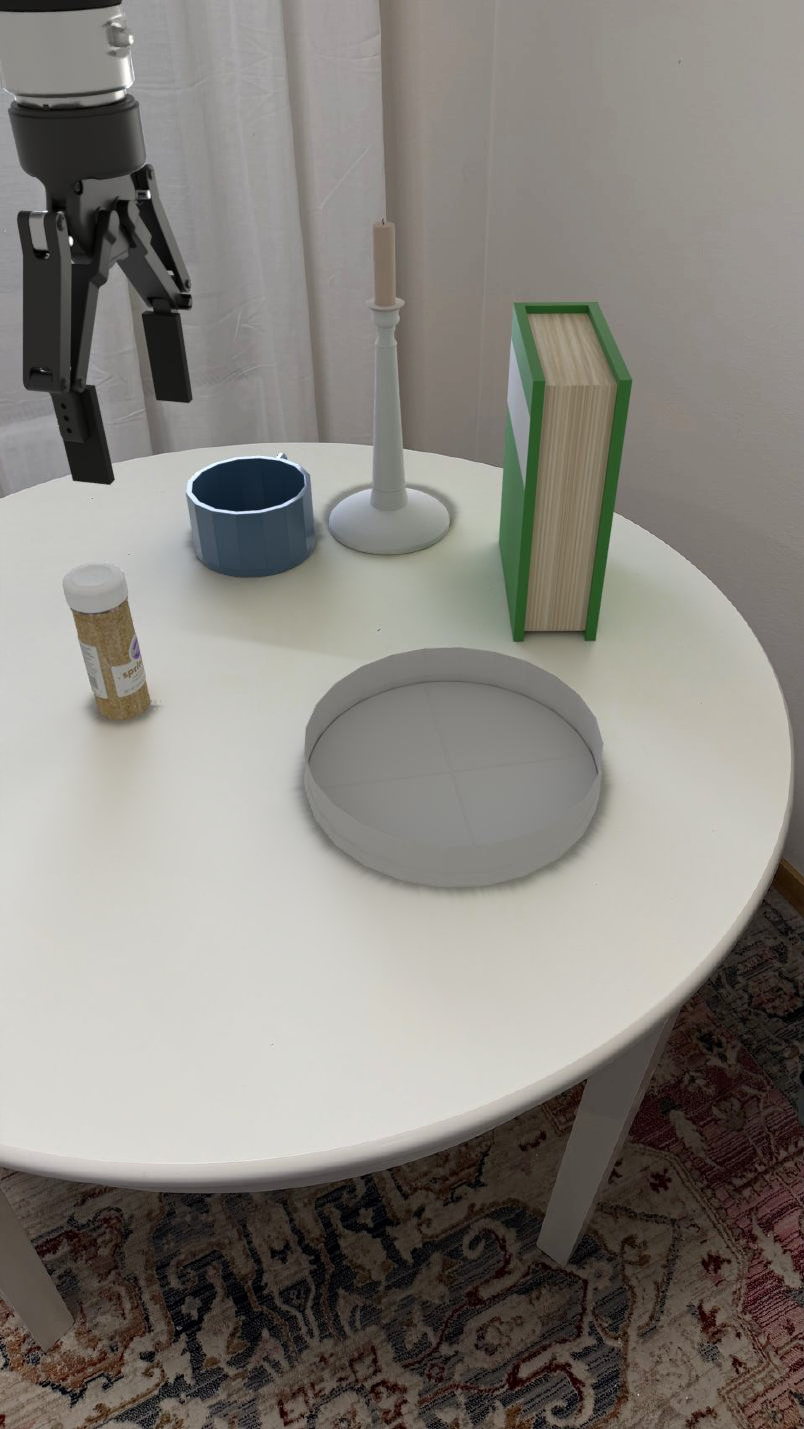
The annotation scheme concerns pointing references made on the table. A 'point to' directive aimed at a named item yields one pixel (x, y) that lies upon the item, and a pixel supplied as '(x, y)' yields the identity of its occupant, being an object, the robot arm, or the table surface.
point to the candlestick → (387, 440)
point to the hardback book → (560, 464)
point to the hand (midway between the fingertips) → (137, 438)
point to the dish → (453, 766)
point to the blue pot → (251, 515)
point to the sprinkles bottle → (107, 638)
